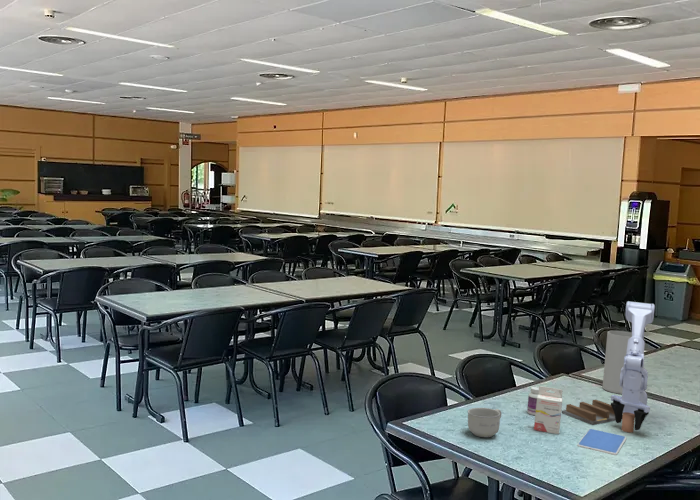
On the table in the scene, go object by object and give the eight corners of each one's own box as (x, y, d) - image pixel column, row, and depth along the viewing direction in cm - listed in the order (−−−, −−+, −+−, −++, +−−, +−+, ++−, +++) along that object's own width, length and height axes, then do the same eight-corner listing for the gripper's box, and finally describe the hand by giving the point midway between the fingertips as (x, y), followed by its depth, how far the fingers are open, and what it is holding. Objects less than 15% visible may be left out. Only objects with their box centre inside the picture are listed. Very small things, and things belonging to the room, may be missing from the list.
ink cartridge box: (533, 430, 233) (537, 389, 231) (534, 426, 237) (537, 385, 236) (559, 434, 230) (563, 392, 229) (559, 430, 235) (563, 389, 233)
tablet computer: (616, 457, 214) (616, 453, 213) (576, 447, 220) (576, 443, 220) (626, 440, 230) (627, 436, 230) (588, 431, 236) (589, 428, 236)
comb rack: (594, 407, 264) (595, 398, 264) (625, 418, 252) (626, 409, 252) (561, 413, 254) (562, 404, 254) (592, 425, 242) (593, 415, 242)
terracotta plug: (626, 427, 241) (627, 411, 241) (635, 431, 238) (637, 415, 237) (618, 429, 239) (620, 413, 238) (628, 433, 236) (630, 416, 235)
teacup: (479, 442, 219) (481, 418, 218) (459, 430, 228) (461, 407, 227) (512, 437, 225) (514, 413, 224) (491, 426, 235) (493, 403, 234)
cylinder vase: (599, 385, 297) (604, 329, 295) (628, 387, 295) (634, 332, 293) (606, 393, 285) (611, 335, 283) (636, 396, 283) (642, 337, 281)
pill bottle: (542, 416, 248) (544, 391, 248) (527, 414, 250) (529, 389, 249) (541, 412, 254) (543, 387, 253) (526, 410, 255) (528, 385, 254)
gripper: (606, 384, 241) (603, 421, 242) (642, 395, 229) (638, 434, 230) (619, 382, 245) (615, 418, 246) (655, 393, 233) (651, 431, 234)
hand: (627, 426), depth 238 cm, fingers open, 7 cm apart
